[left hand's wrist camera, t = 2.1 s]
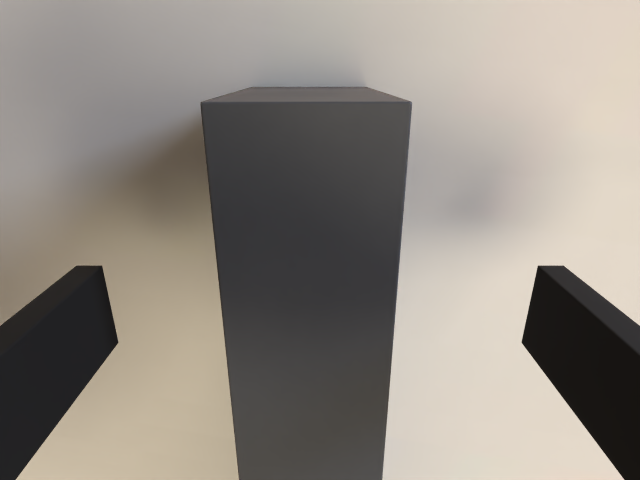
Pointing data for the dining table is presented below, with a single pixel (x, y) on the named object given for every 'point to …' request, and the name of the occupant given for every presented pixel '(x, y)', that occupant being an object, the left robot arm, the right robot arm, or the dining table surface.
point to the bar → (308, 272)
